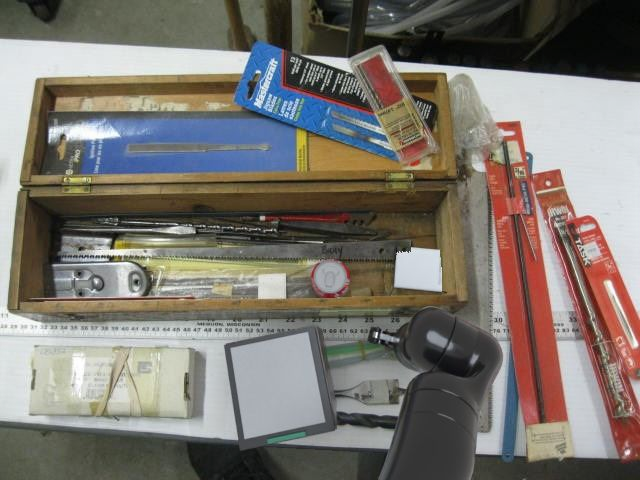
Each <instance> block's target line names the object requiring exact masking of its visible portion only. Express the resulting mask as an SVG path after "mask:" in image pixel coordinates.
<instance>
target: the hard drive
mask: <svg viewBox="0 0 640 480" xmlns="http://www.w3.org/2000/svg"><path fill="white" fill-rule="evenodd" d="M410 247H411V252H410V251H409V253H408V252H407V251H406V252H403V251H402V253H401V252H400V251H399V253H398V252H397V253H396V252H395V255H396V254H397V255H396V260H395V259H394V272H393V288H394V289H404V290H414V291H423V292H424V291H425V292H436V293H443V292H442V267H441V257H440V250H441V249H433V248H424V247H423V248H422V247H412V246H410Z"/></svg>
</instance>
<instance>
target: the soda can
mask: <svg viewBox="0 0 640 480" xmlns="http://www.w3.org/2000/svg"><path fill="white" fill-rule="evenodd" d="M310 284H311V287H312V290H313V291H314V293H315V294H316V296H317V297H318V298H319V297H320V298H319V299H321V298H337V297H342V298H344V297H345V296H346V294H347V293H348V290H349V288H350V284H351V274H350V271H349V269H348V267H347V265H345V264H344V263H343V262H342V261H340V260H338V259H335V258H326V259H323V260H321V261H319V262H318V263H317V264H315V266H314V267H313V269H312V271H311V274H310Z"/></svg>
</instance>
